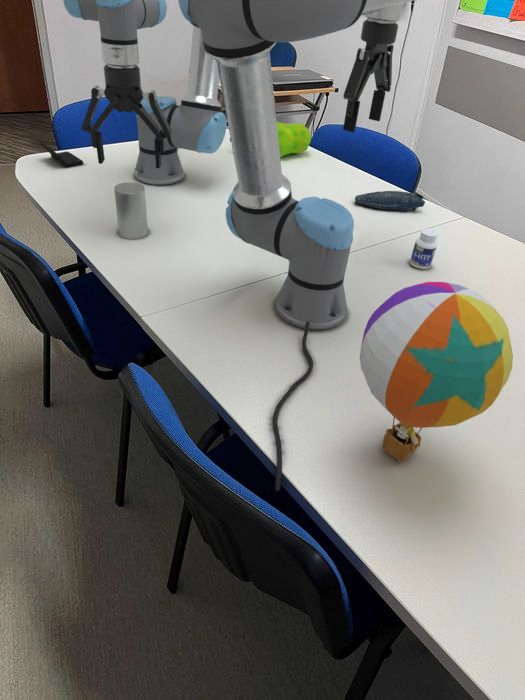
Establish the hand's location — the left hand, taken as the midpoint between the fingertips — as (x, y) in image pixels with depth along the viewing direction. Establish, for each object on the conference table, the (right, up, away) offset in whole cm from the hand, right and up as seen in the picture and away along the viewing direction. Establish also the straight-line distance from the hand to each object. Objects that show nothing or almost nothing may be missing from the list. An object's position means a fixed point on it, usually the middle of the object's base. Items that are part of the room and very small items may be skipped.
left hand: (130, 164), depth 124 cm
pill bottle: (+72, -23, +8) cm, 76 cm away
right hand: (+56, +9, -1) cm, 56 cm away
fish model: (+70, 0, +36) cm, 79 cm away
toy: (+53, -61, -41) cm, 91 cm away
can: (-2, -14, +11) cm, 18 cm away
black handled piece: (-34, +17, +45) cm, 59 cm away
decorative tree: (+35, +28, +67) cm, 81 cm away
